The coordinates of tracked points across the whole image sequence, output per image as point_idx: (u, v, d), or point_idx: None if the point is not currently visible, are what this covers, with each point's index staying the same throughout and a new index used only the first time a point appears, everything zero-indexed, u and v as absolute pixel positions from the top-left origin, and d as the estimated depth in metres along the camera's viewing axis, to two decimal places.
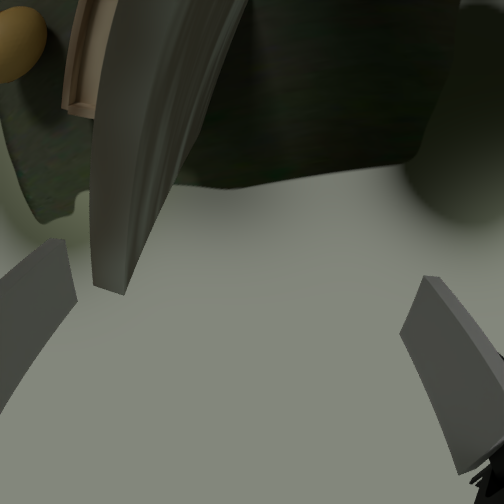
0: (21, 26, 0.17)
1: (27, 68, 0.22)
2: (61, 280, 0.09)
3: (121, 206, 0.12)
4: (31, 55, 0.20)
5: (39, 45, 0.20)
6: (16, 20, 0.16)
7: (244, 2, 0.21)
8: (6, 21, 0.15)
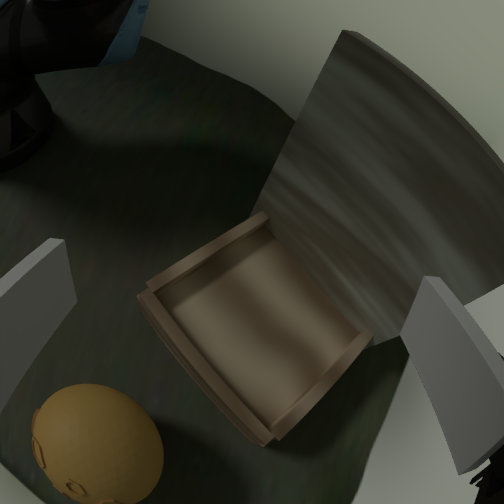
0: (107, 394, 0.17)
1: (163, 453, 0.17)
2: (61, 280, 0.09)
3: (495, 155, 0.12)
4: (155, 429, 0.18)
5: (148, 415, 0.19)
6: (90, 390, 0.16)
7: None
8: (76, 396, 0.15)
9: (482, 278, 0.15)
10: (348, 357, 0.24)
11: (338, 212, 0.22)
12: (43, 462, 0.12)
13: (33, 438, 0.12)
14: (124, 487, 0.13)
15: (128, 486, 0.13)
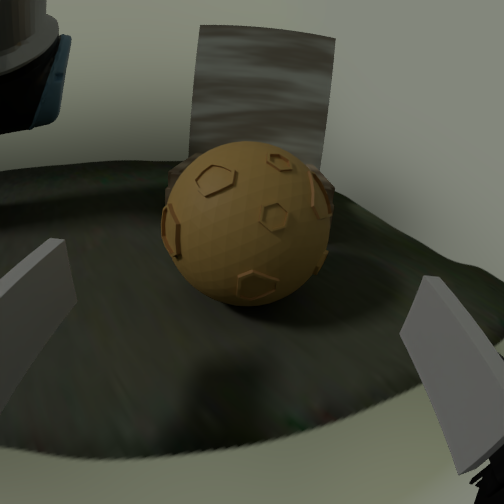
0: None
1: None
2: (61, 280, 0.09)
3: None
4: None
5: None
6: None
7: None
8: None
9: (323, 73, 0.34)
10: (313, 168, 0.36)
11: (242, 106, 0.37)
12: (229, 171, 0.14)
13: (195, 179, 0.14)
14: None
15: None
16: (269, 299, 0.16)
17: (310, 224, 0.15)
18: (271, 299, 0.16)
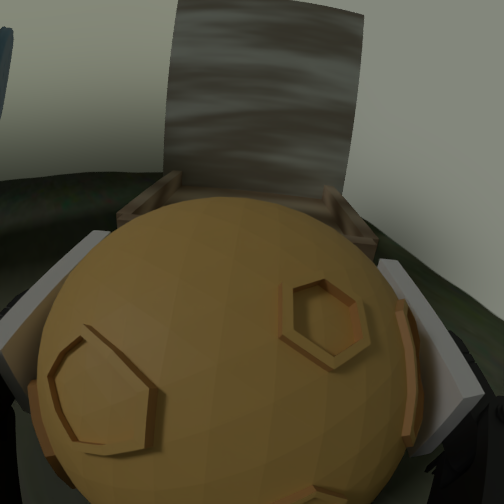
0: None
1: None
2: None
3: None
4: None
5: None
6: None
7: None
8: None
9: (349, 60, 0.23)
10: (336, 195, 0.26)
11: (235, 104, 0.26)
12: (133, 383, 0.03)
13: (48, 370, 0.04)
14: None
15: None
16: None
17: (389, 473, 0.04)
18: None
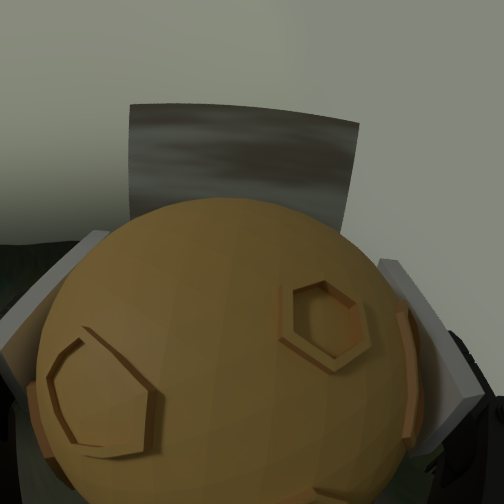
0: None
1: None
2: None
3: None
4: None
5: None
6: None
7: None
8: None
9: (335, 188, 0.23)
10: None
11: None
12: (132, 385, 0.03)
13: (47, 372, 0.04)
14: (367, 258, 0.07)
15: None
16: None
17: (389, 475, 0.04)
18: None
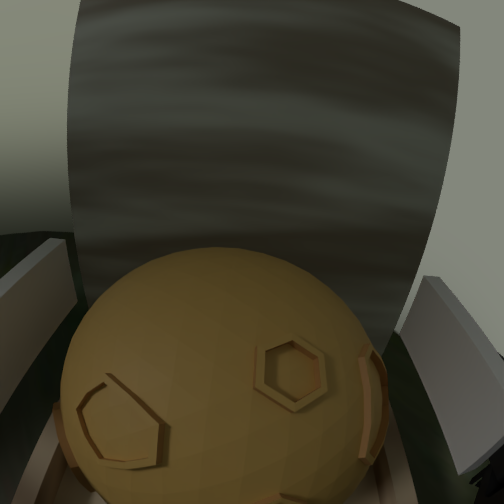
0: None
1: None
2: (61, 280, 0.09)
3: None
4: None
5: None
6: None
7: None
8: None
9: (434, 122, 0.11)
10: None
11: (196, 219, 0.13)
12: (147, 418, 0.04)
13: (76, 404, 0.05)
14: (342, 302, 0.08)
15: (342, 301, 0.08)
16: None
17: (350, 485, 0.05)
18: None
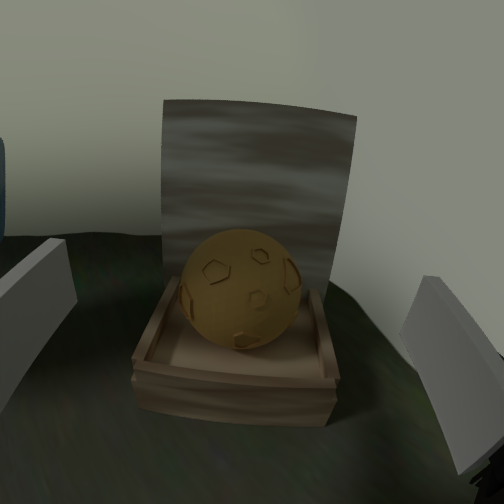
0: None
1: None
2: (61, 280, 0.09)
3: None
4: None
5: None
6: None
7: None
8: None
9: (338, 171, 0.27)
10: (317, 308, 0.30)
11: (226, 220, 0.30)
12: (226, 265, 0.20)
13: (202, 269, 0.21)
14: (281, 246, 0.24)
15: (282, 246, 0.24)
16: (256, 346, 0.23)
17: (282, 299, 0.21)
18: (257, 346, 0.23)
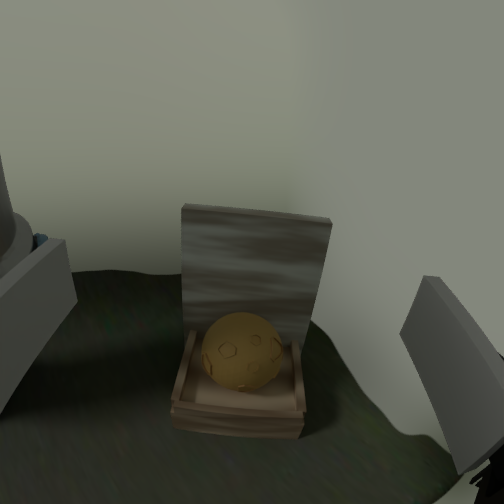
0: None
1: None
2: (61, 280, 0.09)
3: (278, 213, 0.37)
4: None
5: None
6: None
7: None
8: (216, 321, 0.36)
9: (315, 263, 0.38)
10: (296, 357, 0.40)
11: (231, 296, 0.40)
12: (233, 347, 0.31)
13: (218, 348, 0.32)
14: (270, 326, 0.35)
15: (270, 326, 0.35)
16: None
17: (269, 365, 0.32)
18: None
